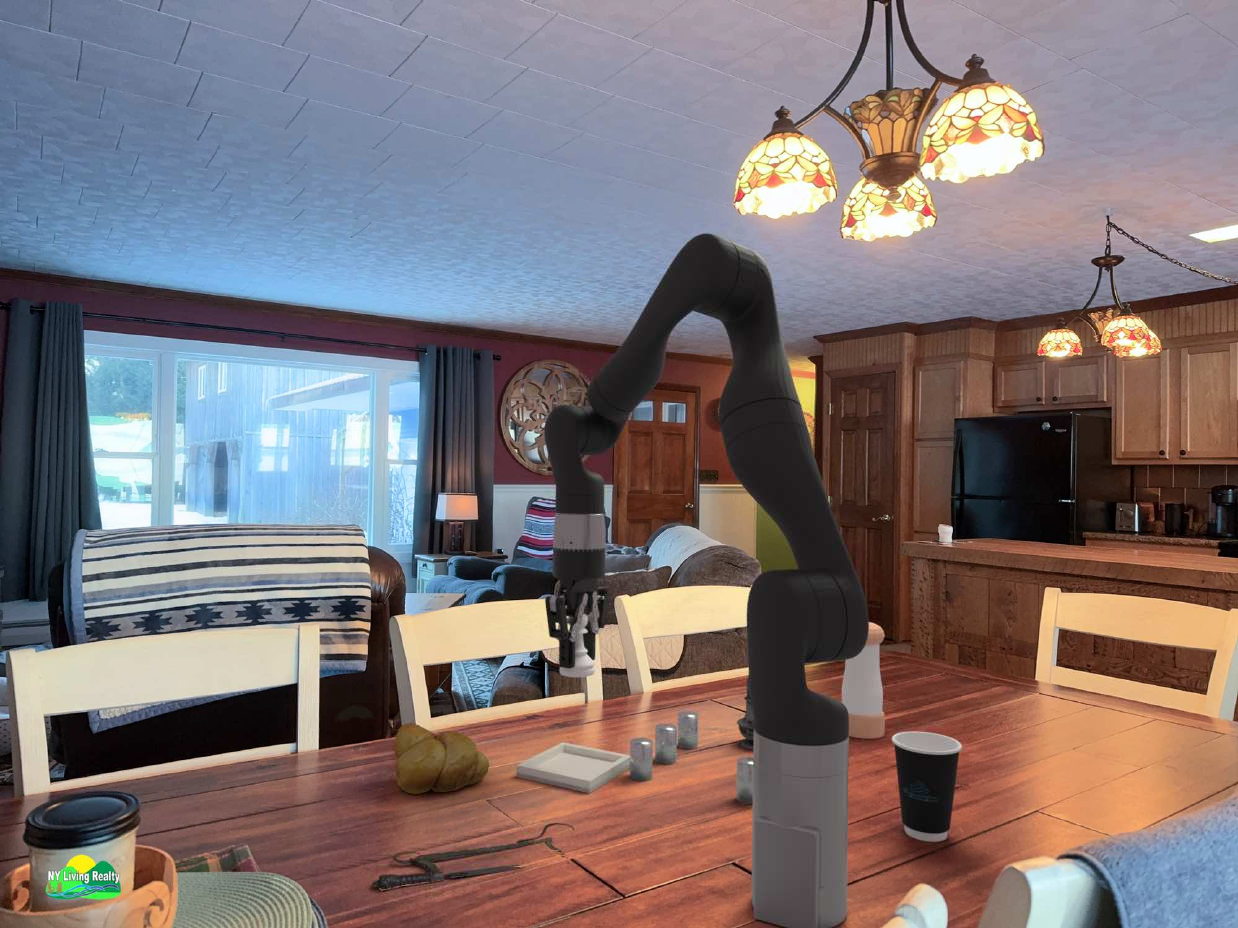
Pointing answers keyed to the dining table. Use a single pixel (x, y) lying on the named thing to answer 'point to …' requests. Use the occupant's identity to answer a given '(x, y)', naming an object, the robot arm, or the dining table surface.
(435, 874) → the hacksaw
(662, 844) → the dining table surface
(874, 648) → the pepper shaker
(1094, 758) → the dining table surface
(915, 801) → the dixie cup
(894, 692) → the dining table surface
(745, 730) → the grey chess piece
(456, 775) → the bread roll
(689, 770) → the dining table surface
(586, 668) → the chess pawn
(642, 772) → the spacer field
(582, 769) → the square tray
